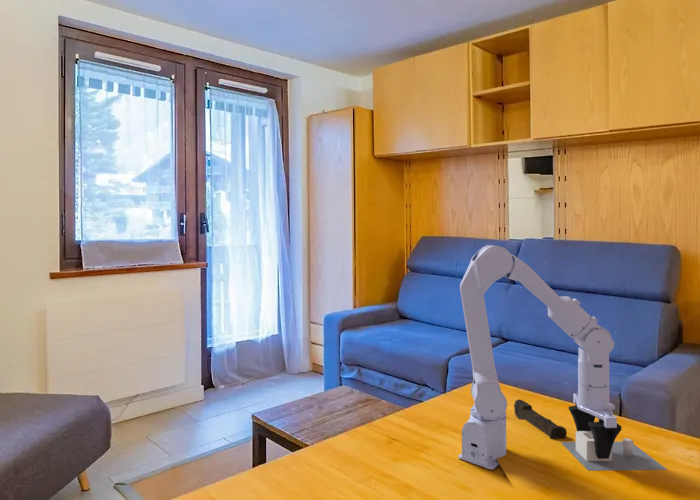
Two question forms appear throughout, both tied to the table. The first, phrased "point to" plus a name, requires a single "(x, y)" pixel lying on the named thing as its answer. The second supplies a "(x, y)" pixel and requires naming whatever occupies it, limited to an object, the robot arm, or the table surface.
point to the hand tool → (538, 420)
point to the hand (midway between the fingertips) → (593, 449)
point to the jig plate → (619, 458)
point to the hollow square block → (587, 446)
